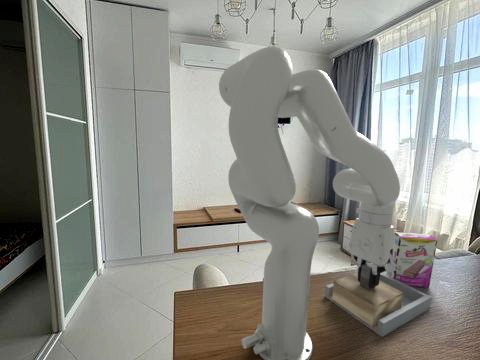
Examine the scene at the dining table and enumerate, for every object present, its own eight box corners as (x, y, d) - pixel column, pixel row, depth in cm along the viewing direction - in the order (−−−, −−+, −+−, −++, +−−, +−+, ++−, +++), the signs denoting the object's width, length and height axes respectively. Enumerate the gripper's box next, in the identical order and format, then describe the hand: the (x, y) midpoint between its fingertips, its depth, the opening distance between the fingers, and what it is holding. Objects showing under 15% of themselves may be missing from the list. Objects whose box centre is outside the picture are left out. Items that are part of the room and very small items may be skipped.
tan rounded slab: (372, 327, 60) (377, 282, 58) (331, 298, 71) (335, 260, 69) (400, 311, 66) (406, 271, 64) (359, 287, 76) (363, 252, 75)
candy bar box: (393, 286, 79) (399, 236, 77) (385, 277, 84) (391, 231, 82) (430, 289, 78) (438, 239, 76) (420, 280, 83) (428, 233, 81)
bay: (381, 336, 58) (383, 323, 58) (325, 296, 73) (326, 285, 72) (429, 308, 69) (431, 296, 68) (371, 278, 83) (373, 268, 83)
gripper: (339, 211, 70) (333, 272, 72) (399, 229, 56) (389, 304, 58) (356, 208, 73) (350, 266, 76) (417, 224, 59) (407, 296, 62)
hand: (367, 282), depth 67 cm, fingers closed on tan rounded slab, 2 cm apart
